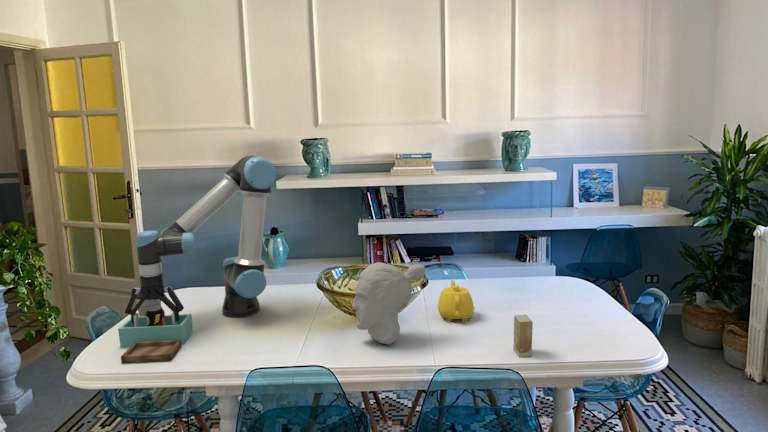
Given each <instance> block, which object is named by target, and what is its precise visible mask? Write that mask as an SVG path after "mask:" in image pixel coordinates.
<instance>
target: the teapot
mask: <svg viewBox="0 0 768 432" xmlns="http://www.w3.org/2000/svg"><path fill="white" fill-rule="evenodd" d="M437 309H438V312H439V315H440V316H441V317H442V318H445V322H449V323H450V322H453V320H455V319H456V320H457V319H458V320H461V321H462V322H468V321H469V319H468V318H472V316H473V314H474V311H475V308H474V301H473V298H472V296H471V294H470V292H469V290H468V288H466V287H462V286H460V285H456V282H455V280H454V279H451V280H450V287H445V288H443V289H442V291H441V293H440V295H439V298H438V304H437Z"/></svg>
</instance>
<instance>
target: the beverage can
mask: <svg viewBox="0 0 768 432" xmlns="http://www.w3.org/2000/svg"><path fill="white" fill-rule="evenodd" d="M165 315H166V313H165V310H164V309H163V306H162V305H161V306H152V307H149V308H147V312H146V322H147V326H166V322H165Z"/></svg>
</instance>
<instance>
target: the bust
mask: <svg viewBox="0 0 768 432" xmlns="http://www.w3.org/2000/svg"><path fill="white" fill-rule="evenodd" d="M425 274H426V267H425V266H424V265H423V264H418V263H416V264H412V265H411V266H409V267H408V268H407V270H406V271H403V270H402V269H400V268H399V267H397V266H395V265H392V264H388V263H385V262H378V261H377V262H375V263H372V264H370V265H368V266H367V267H365V268H364V269H363V270H362V271H361V273H360V275H359V276H358V280H357V282H356V288H355V296H354V299H353V301H352V304H351V308H353V310H355V313H354V314H355V317H356V319H357V320H356V325H355V326H356V328H357V329H358V330H362V331H364V330H367V333H368V335H370V338H371V339H373V340H374V341H377V342H379V343H380V344H383V345H392V343H394V342H395V341H397V339H398V338H399V335H400V332H401V326H400V323H399V311H400V309H401V308H403V307H404V306H405V305H406V304H407V303H408V301H409V299H411V296H412V292H413V287H412V281H419V280H421V279H423V278H424V276H425Z"/></svg>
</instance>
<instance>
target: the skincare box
mask: <svg viewBox="0 0 768 432" xmlns="http://www.w3.org/2000/svg"><path fill="white" fill-rule="evenodd" d="M533 323H534V322H533V320H532V319H531V318H530V317H529V316H528V314H517V315H516V314H515V315H514V317H513V351H514V352H515V354H516V355H517V357H519V358H527V357H532V354H533V353H532V351H533Z"/></svg>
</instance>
